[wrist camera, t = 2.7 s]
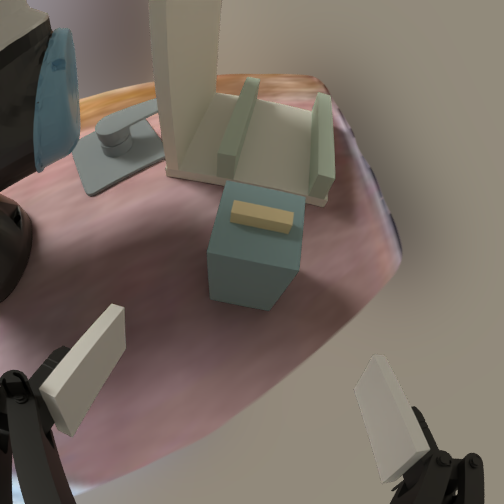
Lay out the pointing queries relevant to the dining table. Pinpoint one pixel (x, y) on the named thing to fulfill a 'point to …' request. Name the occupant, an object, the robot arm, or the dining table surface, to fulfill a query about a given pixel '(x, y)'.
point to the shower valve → (118, 148)
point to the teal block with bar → (254, 245)
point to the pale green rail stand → (231, 114)
